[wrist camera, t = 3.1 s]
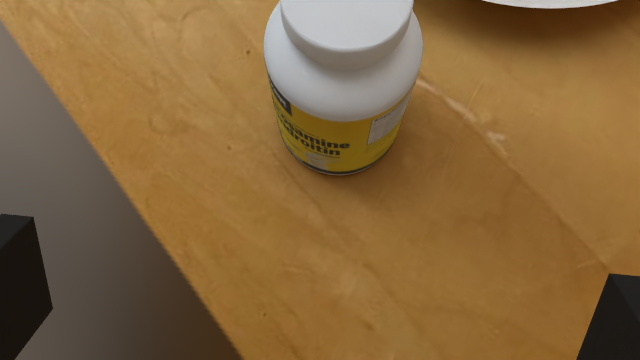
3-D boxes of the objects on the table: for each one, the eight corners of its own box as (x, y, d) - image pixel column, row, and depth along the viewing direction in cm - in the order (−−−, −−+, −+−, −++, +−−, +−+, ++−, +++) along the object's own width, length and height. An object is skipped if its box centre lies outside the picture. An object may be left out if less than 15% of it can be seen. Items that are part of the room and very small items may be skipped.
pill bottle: (259, 98, 31) (221, -45, 20) (363, 51, 31) (382, -112, 20) (311, 200, 29) (302, 106, 18) (420, 147, 30) (476, 26, 19)
